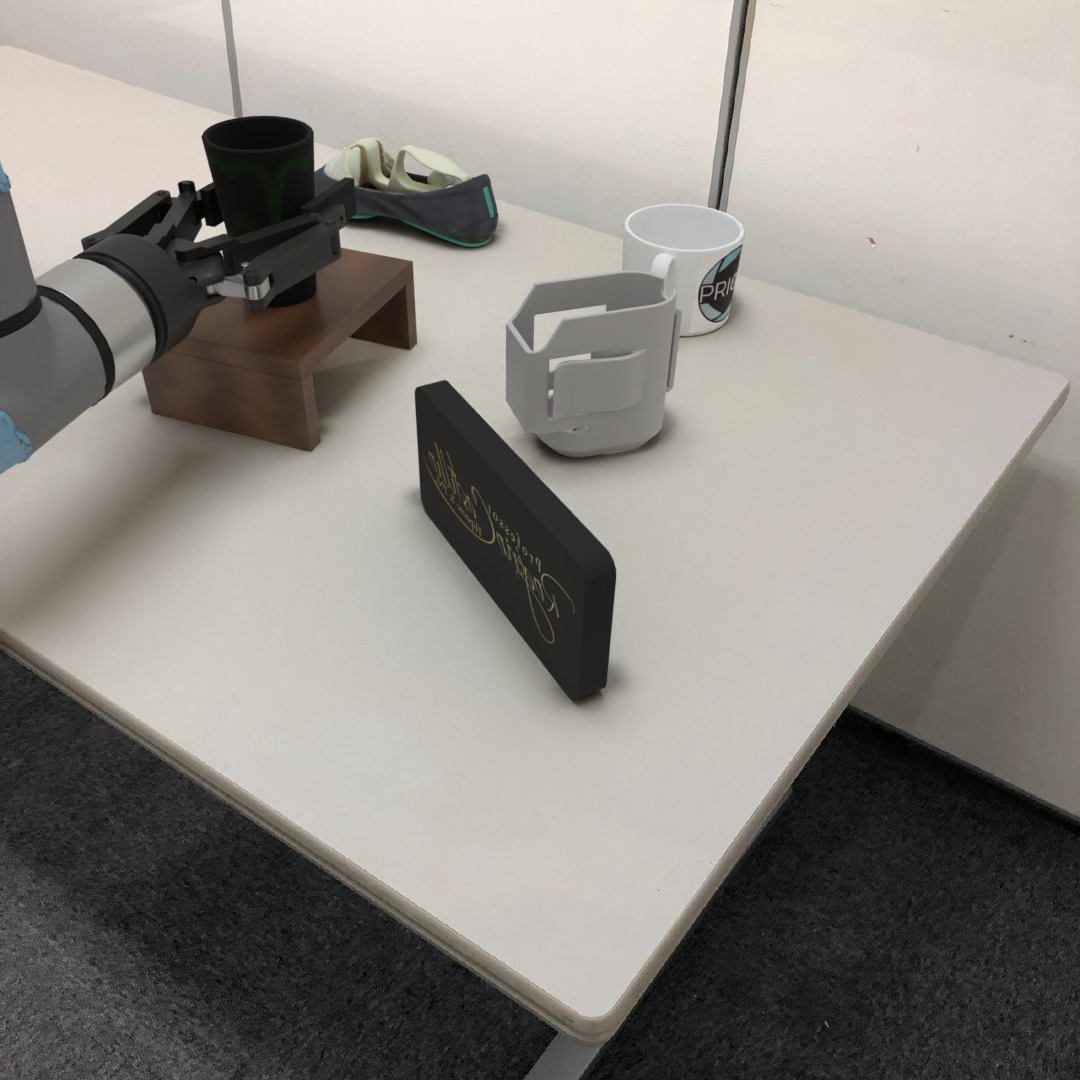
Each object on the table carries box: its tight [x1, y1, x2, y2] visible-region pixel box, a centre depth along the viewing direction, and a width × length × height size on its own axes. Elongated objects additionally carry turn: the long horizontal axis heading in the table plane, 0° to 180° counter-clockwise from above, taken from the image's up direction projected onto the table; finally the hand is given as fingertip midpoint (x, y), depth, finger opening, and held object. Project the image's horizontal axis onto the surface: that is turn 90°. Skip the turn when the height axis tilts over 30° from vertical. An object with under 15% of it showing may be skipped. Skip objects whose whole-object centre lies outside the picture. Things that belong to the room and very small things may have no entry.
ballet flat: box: [314, 136, 499, 248], centre depth 109 cm, size 8×24×8 cm, turn 63°
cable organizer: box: [505, 270, 682, 459], centre depth 76 cm, size 7×12×12 cm, turn 110°
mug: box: [621, 203, 746, 337], centre depth 93 cm, size 13×10×8 cm
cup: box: [201, 115, 317, 308], centre depth 78 cm, size 8×8×12 cm
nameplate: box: [414, 379, 617, 701], centre depth 63 cm, size 21×2×10 cm, turn 29°
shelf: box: [141, 247, 418, 452], centre depth 84 cm, size 14×18×8 cm
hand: (302, 187), depth 81 cm, fingers closed on cup, 8 cm apart
